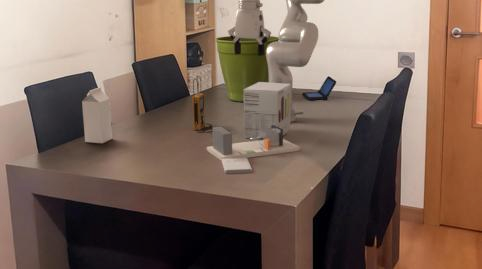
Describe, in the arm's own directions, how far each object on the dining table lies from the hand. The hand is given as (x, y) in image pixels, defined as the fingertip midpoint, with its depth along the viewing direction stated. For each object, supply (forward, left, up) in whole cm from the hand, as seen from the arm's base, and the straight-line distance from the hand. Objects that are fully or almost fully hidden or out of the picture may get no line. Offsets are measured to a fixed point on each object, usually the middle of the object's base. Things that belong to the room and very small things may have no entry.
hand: (249, 54), depth 228 cm
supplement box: (-6, +3, -30) cm, 30 cm away
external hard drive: (+20, +36, -30) cm, 51 cm away
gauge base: (+8, +21, -29) cm, 37 cm away
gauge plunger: (+4, +22, -28) cm, 36 cm away
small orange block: (+5, +27, -28) cm, 39 cm away
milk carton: (+53, -15, -30) cm, 63 cm away
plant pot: (-26, -62, -30) cm, 73 cm away
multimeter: (+11, -15, -30) cm, 35 cm away
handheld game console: (-57, -50, -30) cm, 82 cm away
